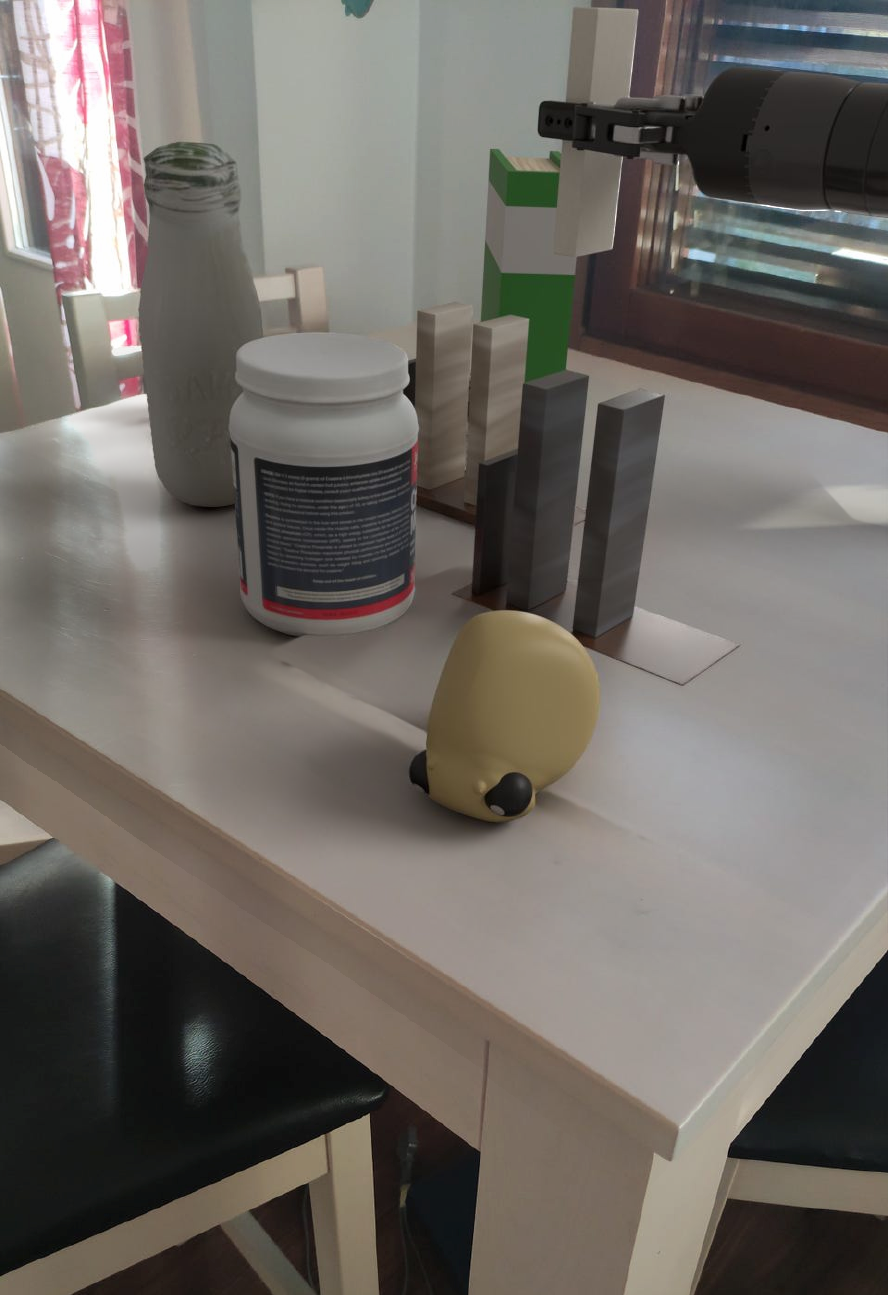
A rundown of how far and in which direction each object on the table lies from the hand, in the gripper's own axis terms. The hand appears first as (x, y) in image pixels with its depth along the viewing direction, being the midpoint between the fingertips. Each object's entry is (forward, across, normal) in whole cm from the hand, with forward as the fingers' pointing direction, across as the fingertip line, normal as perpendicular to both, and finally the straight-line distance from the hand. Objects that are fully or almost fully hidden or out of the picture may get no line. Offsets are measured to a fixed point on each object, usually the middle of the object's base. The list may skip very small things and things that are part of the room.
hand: (565, 116), depth 83 cm
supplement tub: (+2, +23, +31) cm, 39 cm away
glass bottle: (+24, +15, +31) cm, 42 cm away
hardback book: (+24, -30, +31) cm, 49 cm away
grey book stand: (-14, +12, +31) cm, 36 cm away
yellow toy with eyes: (-22, +32, +31) cm, 50 cm away
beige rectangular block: (-3, 0, +8) cm, 9 cm away
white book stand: (+7, -1, +31) cm, 32 cm away
